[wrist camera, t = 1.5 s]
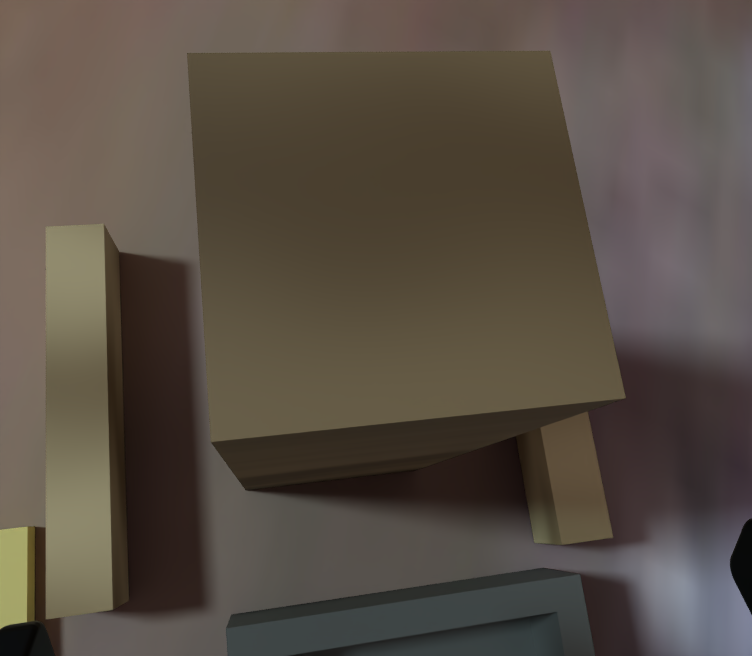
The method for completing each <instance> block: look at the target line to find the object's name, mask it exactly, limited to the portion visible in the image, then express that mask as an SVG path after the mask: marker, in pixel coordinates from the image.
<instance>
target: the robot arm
mask: <svg viewBox="0 0 752 656" xmlns="http://www.w3.org/2000/svg"><path fill="white" fill-rule="evenodd" d="M730 569H731V573H732V576H733V579H734V581H735V583H736V585H737V587H738V589H739V591H740V593H741V594H742V596H743V598H744V600H745V602H746V604H747V606H748V608H749V610H750V612H751V614H752V518H751V519H749V520H748V521H747V522H746V523H745V524H744V526H743V529H742V531H741V534H740V536H739V538H738V541H737V543H736V546H735V548H734V551H733V553H732V556H731V559H730ZM0 656H55V654H54V651H53V648H52V645H51V642H50V639H49V636H48V633H47V630H46V628H45V626H44V624H43V623H42V622H40V621H31V622H24V623H17V624H10V625H7V626H4V627H3V628H1V629H0Z"/></svg>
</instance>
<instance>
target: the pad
mask: <svg viewBox="0 0 752 656" xmlns="http://www.w3.org/2000/svg"><path fill="white" fill-rule="evenodd" d="M31 621H35V526H33V527H20V528H12V529H4V530H0V629H1V628H3V627H4V626H7V625H10V624H17V623H24V622H31Z"/></svg>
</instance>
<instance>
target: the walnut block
mask: <svg viewBox="0 0 752 656" xmlns="http://www.w3.org/2000/svg"><path fill="white" fill-rule="evenodd" d="M187 59H188V75H189V91H190V108H191V124H192V141H193V157H194V174H195V190H196V207H197V223H198V239H199V256H200V272H201V289H202V305H203V322H204V338H205V355H206V371H207V387H208V404H209V420H210V437H211V443H212V444H213V446H214V447H215V448H216V450H217V451H218V453H219V454H220V455H221V457H222V458H223V459H224V461H225V462H226V464H227V465H228V466H229V468H230V469H231V470H232V472H233V473H234V475H235V476H236V477H237V479H238V480H239V482H240V483H241V484H242V486H243V487H244V488H245V490H253V489H261V488H270V487H278V486H286V485H295V484H303V483H312V482H320V481H328V480H337V479H345V478H354V477H362V476H371V475H379V474H387V473H396V472H404V471H413V470H418V469H421V468H424V467H427V466H430V465H433V464H435V463H438V462H441V461H444V460H447V459H450V458H453V457H456V456H459V455H462V454H465V453H468V452H470V451H473V450H476V449H479V448H482V447H485V446H488V445H491V444H494V443H497V442H500V441H503V440H505V439H508V438H511V437H514V436H517V435H520V434H523V433H526V432H529V431H532V430H535V429H538V428H540V427H543V426H546V425H549V424H552V423H555V422H558V421H561V420H564V419H567V418H570V417H573V416H576V415H578V414H581V413H584V412H587V411H590V410H593V409H596V408H599V407H602V406H605V405H608V404H611V403H613V402H616V401H619V400H622V399H625V398H626V397H625V392H624V388H623V383H622V378H621V374H620V369H619V365H618V360H617V355H616V351H615V346H614V342H613V337H612V333H611V328H610V323H609V319H608V314H607V310H606V305H605V300H604V296H603V291H602V287H601V282H600V277H599V273H598V268H597V264H596V259H595V254H594V250H593V245H592V241H591V236H590V231H589V227H588V222H587V218H586V213H585V209H584V204H583V199H582V195H581V190H580V186H579V181H578V176H577V172H576V167H575V163H574V158H573V153H572V149H571V144H570V140H569V135H568V130H567V126H566V121H565V117H564V112H563V108H562V103H561V98H560V94H559V89H558V85H557V80H556V75H555V71H554V66H553V62H552V57H551V52H550V51H450V52H292V53H187Z"/></svg>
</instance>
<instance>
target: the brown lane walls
mask: <svg viewBox="0 0 752 656" xmlns="http://www.w3.org/2000/svg"><path fill="white" fill-rule="evenodd" d="M516 440H517V446H518V452H519V458H520V463H521V469H522V475H523V481H524V486H525V492H526V498H527V503H528V509H529V515H530V521H531V526H532V532H533V538H534V543H544V544H556V545H565V544H572V543H579V542H586V541H593V540H600V539H607V538H613V534H612V529H611V524H610V519H609V514H608V509H607V504H606V499H605V494H604V489H603V484H602V479H601V474H600V469H599V464H598V460H597V455H596V450H595V445H594V440H593V435H592V430H591V425H590V420H589V415H588V411H587V412H584V413H581V414H578V415H576V416H573V417H570V418H567V419H564V420H561V421H558V422H555V423H552V424H549V425H546V426H543V427H540V428H538V429H535V430H532V431H529V432H526V433H523V434H520V435H517V436H516ZM127 601H129V581H128V546H127V512H126V477H125V443H124V408H123V373H122V339H121V304H120V270H119V250H118V249H117V247H116V245H115V243H114V241H113V240H112V238H111V236H110V234H109V232H108V230H107V229H106V227H105V225H104V224H93V225H72V226H52V227H46V619H53V618H60V617H67V616H74V615H81V614H88V613H95V612H102V611H108V610H113V609H115V608H117V607H119V606H120V605H122V604H124V603H126V602H127Z"/></svg>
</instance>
